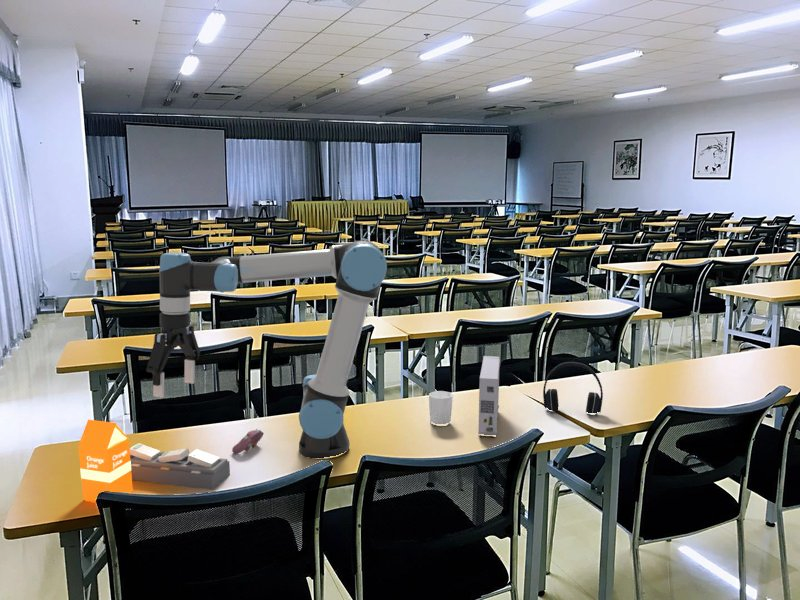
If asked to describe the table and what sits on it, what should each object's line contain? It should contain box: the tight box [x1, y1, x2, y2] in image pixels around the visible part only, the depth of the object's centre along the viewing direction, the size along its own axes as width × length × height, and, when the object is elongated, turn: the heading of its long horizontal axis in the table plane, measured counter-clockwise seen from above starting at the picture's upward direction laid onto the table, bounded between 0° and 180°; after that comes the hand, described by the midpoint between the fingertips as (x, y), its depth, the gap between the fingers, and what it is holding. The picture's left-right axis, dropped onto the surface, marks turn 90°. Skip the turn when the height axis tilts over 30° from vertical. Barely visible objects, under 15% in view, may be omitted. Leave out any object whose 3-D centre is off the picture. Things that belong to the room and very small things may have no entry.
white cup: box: [428, 390, 454, 424], centre depth 210 cm, size 8×8×10 cm
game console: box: [477, 355, 501, 436], centre depth 209 cm, size 6×27×20 cm, turn 170°
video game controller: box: [231, 428, 265, 455], centre depth 189 cm, size 10×5×7 cm, turn 160°
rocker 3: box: [187, 448, 220, 468], centre depth 168 cm, size 7×4×2 cm, turn 76°
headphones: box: [542, 361, 604, 414], centre depth 220 cm, size 20×7×18 cm, turn 74°
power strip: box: [130, 451, 231, 490], centre depth 171 cm, size 28×9×5 cm, turn 76°
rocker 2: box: [158, 447, 191, 462], centre depth 170 cm, size 7×4×2 cm, turn 76°
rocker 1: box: [129, 442, 162, 461], centre depth 173 cm, size 7×4×2 cm, turn 76°
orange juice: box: [77, 419, 134, 503], centre depth 159 cm, size 8×9×20 cm
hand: (174, 389), depth 169 cm, fingers open, 13 cm apart
